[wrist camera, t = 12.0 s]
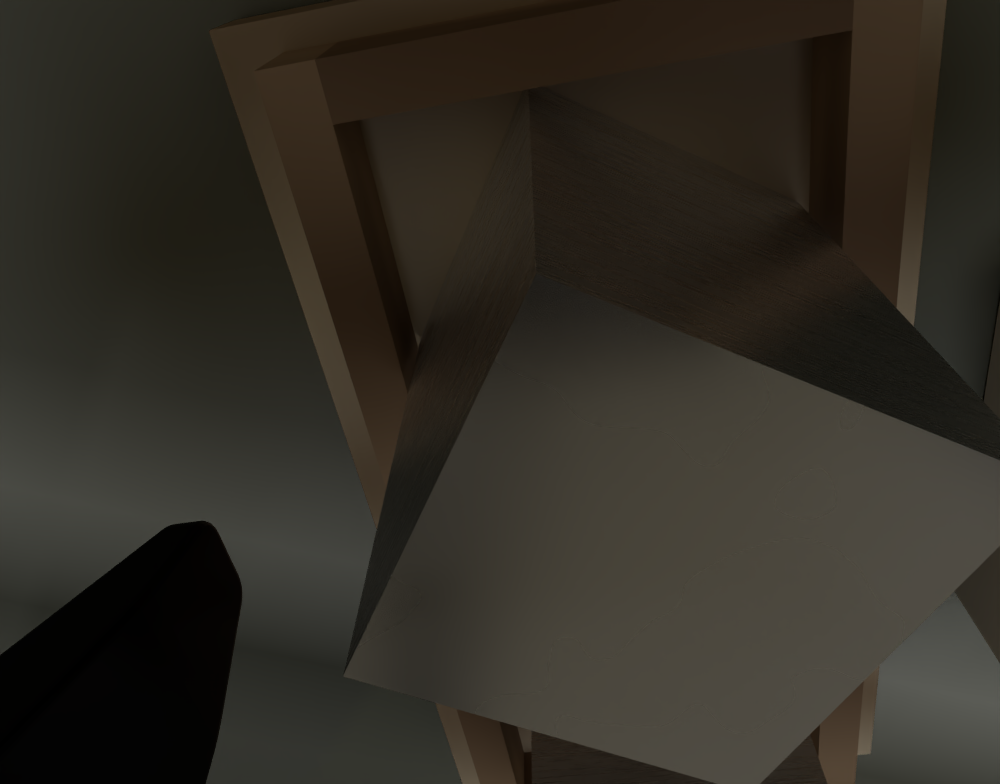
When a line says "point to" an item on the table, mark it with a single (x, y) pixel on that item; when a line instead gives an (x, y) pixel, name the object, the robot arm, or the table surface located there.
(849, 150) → the pallet board
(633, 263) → the block
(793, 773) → the block
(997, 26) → the table surface
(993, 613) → the button console
